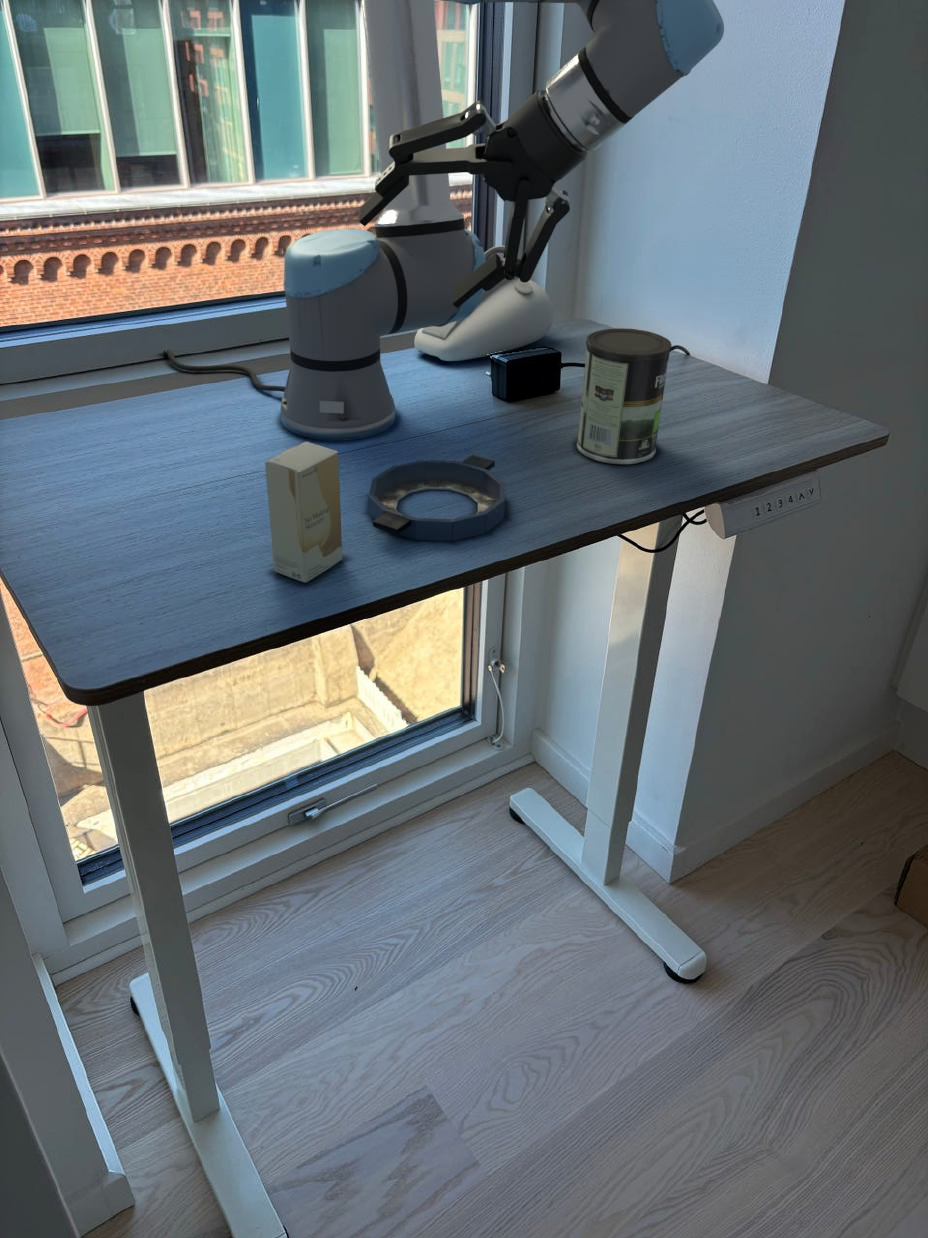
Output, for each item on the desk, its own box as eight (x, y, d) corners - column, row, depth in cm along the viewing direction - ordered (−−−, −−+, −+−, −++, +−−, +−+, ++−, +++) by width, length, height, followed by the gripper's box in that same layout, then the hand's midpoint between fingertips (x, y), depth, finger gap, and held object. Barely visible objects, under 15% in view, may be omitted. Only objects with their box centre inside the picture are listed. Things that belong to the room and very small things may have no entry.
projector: (410, 322, 166) (410, 232, 158) (541, 322, 168) (548, 234, 160) (415, 367, 148) (415, 268, 140) (563, 366, 150) (571, 269, 142)
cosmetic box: (305, 585, 96) (297, 473, 89) (272, 572, 98) (261, 461, 91) (345, 558, 101) (340, 449, 94) (313, 546, 102) (305, 438, 96)
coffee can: (657, 436, 129) (672, 331, 121) (654, 469, 120) (670, 358, 112) (580, 428, 130) (590, 323, 122) (571, 460, 122) (582, 350, 114)
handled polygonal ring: (328, 525, 106) (327, 505, 105) (430, 460, 121) (430, 442, 120) (445, 565, 100) (445, 545, 99) (538, 491, 114) (539, 473, 113)
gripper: (477, 36, 82) (316, 199, 94) (647, 230, 96) (490, 350, 108) (475, -3, 86) (322, 158, 98) (638, 189, 101) (488, 308, 113)
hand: (410, 259), depth 103 cm, fingers open, 13 cm apart
